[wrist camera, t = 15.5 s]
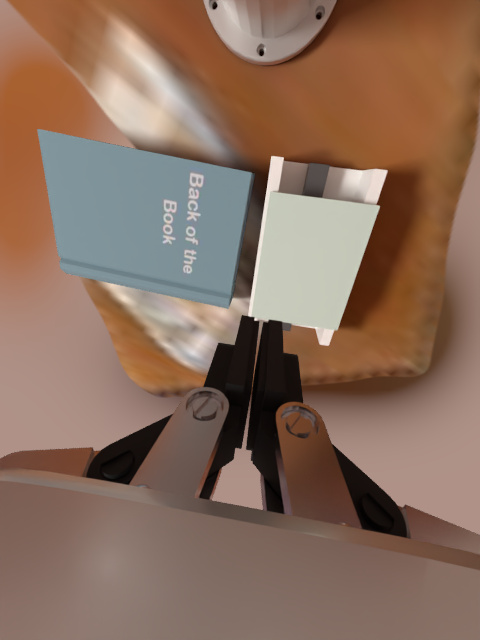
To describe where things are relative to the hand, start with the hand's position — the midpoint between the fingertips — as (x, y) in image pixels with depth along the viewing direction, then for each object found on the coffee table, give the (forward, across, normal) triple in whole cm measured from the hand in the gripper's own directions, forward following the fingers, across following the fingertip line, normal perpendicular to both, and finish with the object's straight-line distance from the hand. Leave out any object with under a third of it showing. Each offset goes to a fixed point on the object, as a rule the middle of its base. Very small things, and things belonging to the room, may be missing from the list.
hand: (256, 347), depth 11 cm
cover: (+20, -5, +2) cm, 21 cm away
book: (+26, +15, +1) cm, 30 cm away
